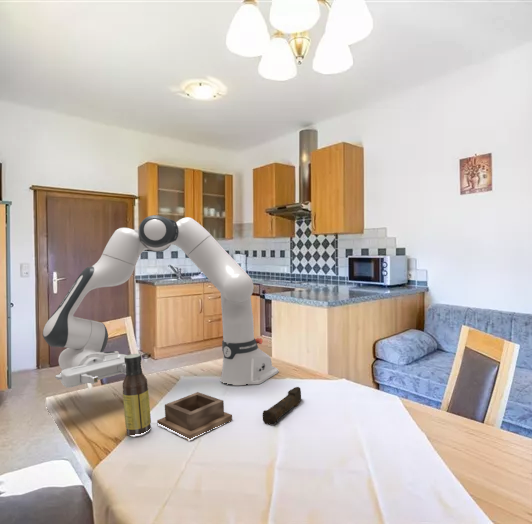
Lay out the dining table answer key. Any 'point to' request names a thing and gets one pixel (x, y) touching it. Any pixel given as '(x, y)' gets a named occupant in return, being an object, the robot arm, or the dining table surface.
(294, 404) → the hand tool
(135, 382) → the sauce bottle
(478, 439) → the dining table surface
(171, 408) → the socket holder
